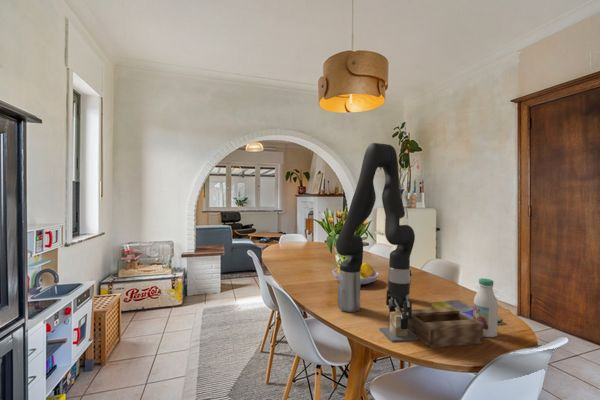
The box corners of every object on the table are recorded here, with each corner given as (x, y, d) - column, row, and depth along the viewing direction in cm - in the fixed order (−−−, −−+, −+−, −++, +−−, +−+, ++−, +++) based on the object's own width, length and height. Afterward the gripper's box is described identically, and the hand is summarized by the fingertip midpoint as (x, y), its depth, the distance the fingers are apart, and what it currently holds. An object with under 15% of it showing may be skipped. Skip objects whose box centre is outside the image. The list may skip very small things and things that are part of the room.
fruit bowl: (381, 290, 162) (381, 269, 162) (330, 287, 166) (331, 266, 166) (376, 276, 189) (376, 258, 189) (333, 274, 194) (333, 256, 194)
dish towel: (468, 329, 115) (468, 322, 115) (428, 306, 139) (428, 300, 139) (506, 326, 119) (506, 319, 119) (460, 304, 143) (461, 298, 143)
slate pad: (391, 342, 103) (391, 340, 103) (379, 329, 113) (379, 327, 113) (418, 340, 105) (418, 338, 105) (403, 327, 115) (403, 326, 115)
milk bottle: (488, 328, 115) (489, 277, 115) (502, 338, 108) (503, 282, 107) (468, 328, 115) (469, 276, 115) (480, 337, 107) (482, 282, 107)
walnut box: (430, 347, 100) (430, 326, 100) (406, 328, 115) (407, 310, 115) (482, 343, 103) (483, 323, 103) (453, 324, 118) (453, 307, 118)
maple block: (407, 335, 107) (407, 316, 107) (395, 336, 106) (396, 316, 106) (400, 329, 112) (401, 311, 112) (389, 330, 111) (389, 311, 111)
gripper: (419, 285, 103) (418, 332, 103) (398, 274, 117) (397, 315, 117) (399, 286, 101) (398, 333, 102) (380, 274, 115) (379, 316, 116)
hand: (397, 323), depth 109 cm, fingers open, 8 cm apart
